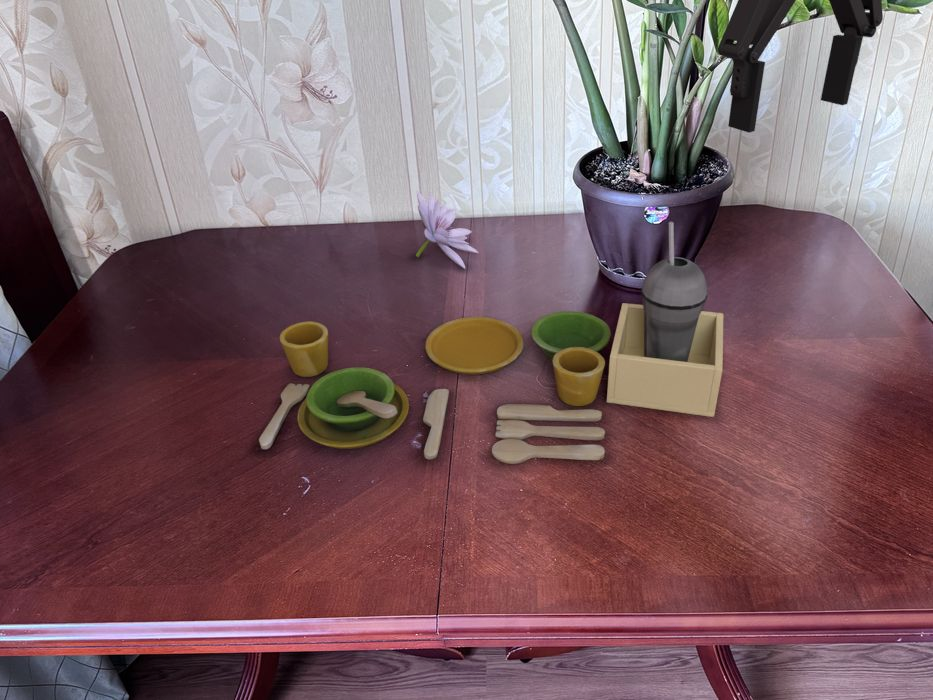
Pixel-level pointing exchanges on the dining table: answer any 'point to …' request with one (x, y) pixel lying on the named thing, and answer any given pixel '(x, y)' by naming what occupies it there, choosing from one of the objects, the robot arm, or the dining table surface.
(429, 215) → the water lily
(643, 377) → the box
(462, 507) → the dining table surface
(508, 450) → the tableware set
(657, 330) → the beverage cup
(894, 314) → the dining table surface
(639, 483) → the dining table surface
